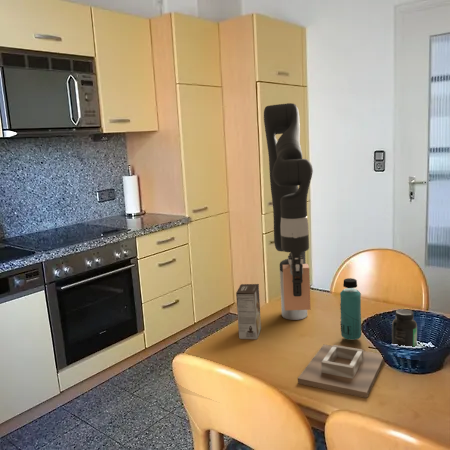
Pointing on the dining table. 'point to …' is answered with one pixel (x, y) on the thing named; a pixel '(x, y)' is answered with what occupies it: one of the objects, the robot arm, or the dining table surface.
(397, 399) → the dining table surface
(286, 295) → the keyed peg
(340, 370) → the keyed holder
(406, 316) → the supplement bottle
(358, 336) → the beverage bottle
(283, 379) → the dining table surface
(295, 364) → the dining table surface
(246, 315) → the coffee box
